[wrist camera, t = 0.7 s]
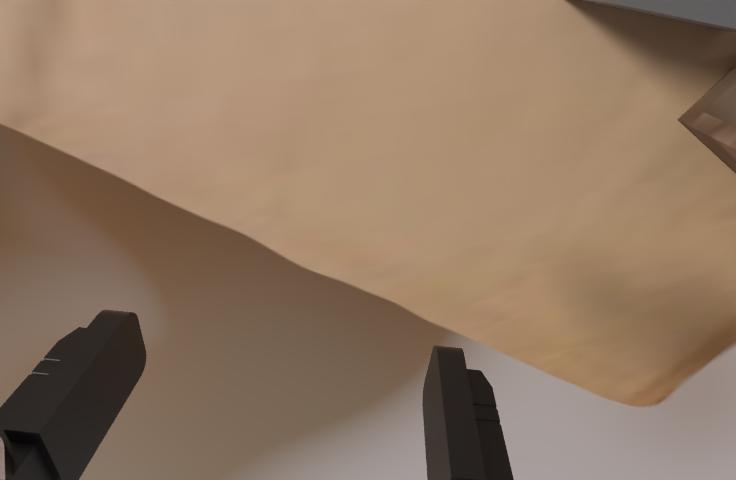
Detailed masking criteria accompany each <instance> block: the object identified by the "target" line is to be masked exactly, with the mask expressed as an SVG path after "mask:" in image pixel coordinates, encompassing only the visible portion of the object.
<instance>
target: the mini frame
mask: <svg viewBox="0 0 736 480" xmlns="http://www.w3.org/2000/svg"><path fill="white" fill-rule="evenodd" d="M582 1H586V2H591V3H596V4H601V5H606V6H610V7H615V8H620V9H625V10H630V11H634V12H639V13H644V14H649V15H654V16H658V17H663V18H668V19H673V20H678V21H682V22H687V23H692V24H697V25H702V26H706V27H711V28H716V29H721V30H726V31H731V32H736V0H582Z"/></svg>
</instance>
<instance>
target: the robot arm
mask: <svg viewBox="0 0 736 480" xmlns="http://www.w3.org/2000/svg"><path fill="white" fill-rule="evenodd" d="M145 363H146V350H145V346H144V341H143V337H142V333H141V329H140V325H139V321H138V317H137V315H136V314H135V313H132V312H122V311H112V310H103V311H101V312H100V313H99V314H98V315H97V316H96V318H95V319H94V320H93V321H92V322H91V323H90V325H89V326H88V327H87V328H81V327H79V328H77V329H76V330H74V331H73V332H71V333H70V334H68V335H67V336H65V337H64V338H62V339H61V340H59V341H58V342H57V343H56V345H55V346H54V347H53V348H52V349H51V350H50V351H49V353H48V354H47V355H46V356H45V357H44V360H43V361H41V362H40V363H39V364H38V365H37V366H36V367H35V369H34V370H33V371H32V374H31V375H28V377H27V378H26V379H25V380H24V381H23V382H22V383H21V385H20V386H19V387H18V388H17V389H16V390H15V391H14V393H13V394H12V395H11V396H10V397H9V398H8V399H7V401H6V402H5V403H4V404H3V405H2V407H0V480H79V478H80V477H81V475H82V473H83V472H84V470H85V468H86V467H87V465H88V463H89V462H90V460H91V458H92V457H93V455H94V453H95V452H96V450H97V448H98V447H99V445H100V443H101V442H102V440H103V438H104V437H105V435H106V433H107V432H108V430H109V428H110V427H111V425H112V423H113V422H114V420H115V418H116V417H117V415H118V413H119V412H120V410H121V408H122V407H123V405H124V403H125V402H126V400H127V398H128V397H129V395H130V394H131V392H132V390H133V388H134V387H135V385H136V383H137V382H138V380H139V378H140V377H141V375H142V373H143V370H144V367H145ZM423 418H424V433H425V447H426V462H427V477H428V480H513V475H512V471H511V467H510V462H509V458H508V454H507V449H506V445H505V441H504V436H503V432H502V428H501V425H500V419H499V415H498V410H497V409H496V402H495V397H494V393H493V389H492V386H491V385H490V383H489V382H488V381H487V379H486V378H485V376H484V375H483V373H482V372H481V371H480V370H471V369H467V368H466V363H465V357H464V352H463V350H462V348H453V347H444V346H434V347H433V350H432V354H431V358H430V362H429V366H428V370H427V374H426V378H425V382H424V388H423Z"/></svg>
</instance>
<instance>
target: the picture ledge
mask: <svg viewBox="0 0 736 480" xmlns="http://www.w3.org/2000/svg"><path fill="white" fill-rule="evenodd" d="M678 121H680V122H681V123H682V124H683V125H684V126H685V127H686V128H687V129H688V130H689V131H690V132H692V133H693V134H694V135H695V136H696V137H697V138H698V139H699V140H700V141H701V142H702V143H703V144H705V145H706V146H707V147H708V148H709V149H710V150H711V151H712V152H713V153H714V154H715V155H717V156H718V157H719V158H720V159H721V160H722V161H723V162H724V163H725V164H726V165H727V166H728V167H730V168H731V169H732V170H733V171H734V172H735V173H736V66H735V67H734V68H733V69H732V70H731V71H730V72H729V73H728V74H727V75H726V76H725V77H724V78H722V79H721V80H720V81H719V82H718V83H717V84H716V85H715V86H714V87H713V88H712V89H711V90H709V91H708V92H707V93H706V94H705V95H704V96H703V97H702V98H701V99H700V100H699V101H698V102H696V103H695V104H694V105H693V106H692V107H691V108H690V109H689V110H688V111H687V112H686V113H685V114H683V115H682V116H681V117H680V118H679V119H678Z"/></svg>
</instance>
